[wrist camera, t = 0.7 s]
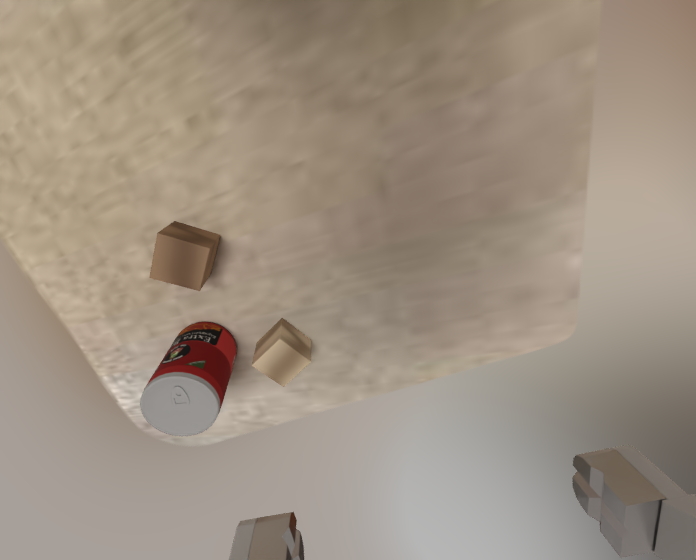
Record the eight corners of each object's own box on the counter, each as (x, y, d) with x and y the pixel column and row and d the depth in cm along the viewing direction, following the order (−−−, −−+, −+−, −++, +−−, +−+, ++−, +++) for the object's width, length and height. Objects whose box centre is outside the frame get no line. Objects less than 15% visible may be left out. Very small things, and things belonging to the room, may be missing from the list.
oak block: (257, 342, 46) (251, 365, 41) (282, 317, 45) (279, 338, 40) (285, 362, 48) (283, 387, 43) (310, 339, 46) (311, 361, 42)
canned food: (222, 312, 43) (198, 366, 33) (247, 361, 47) (232, 424, 37) (164, 330, 43) (122, 390, 33) (193, 377, 47) (163, 445, 37)
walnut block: (167, 261, 40) (149, 277, 36) (174, 220, 38) (157, 233, 34) (211, 273, 41) (199, 290, 37) (220, 234, 40) (209, 248, 35)
